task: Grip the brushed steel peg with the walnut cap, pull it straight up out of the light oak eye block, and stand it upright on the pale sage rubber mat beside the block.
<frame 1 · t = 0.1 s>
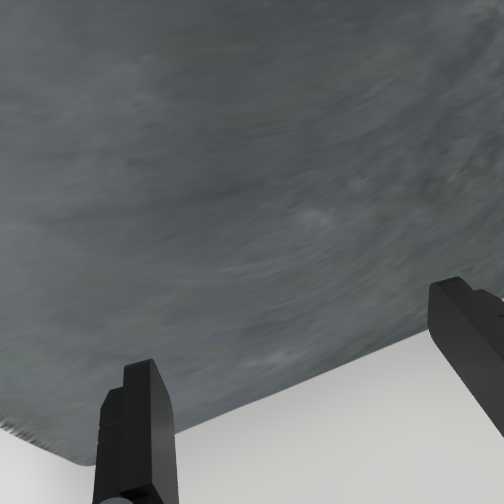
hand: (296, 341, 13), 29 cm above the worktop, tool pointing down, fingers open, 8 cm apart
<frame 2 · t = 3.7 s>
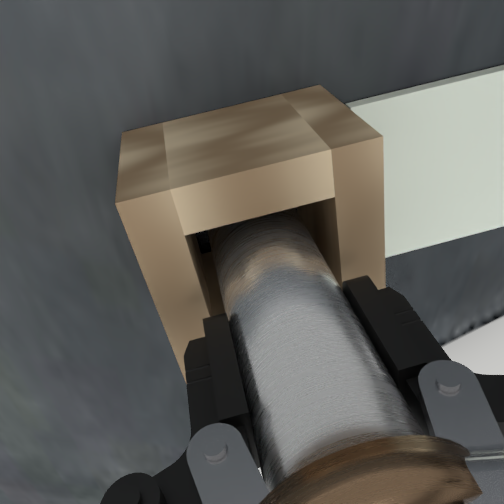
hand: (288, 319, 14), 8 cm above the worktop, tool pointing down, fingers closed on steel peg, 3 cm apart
oak eye block: (241, 196, 21), on the worktop
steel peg: (283, 304, 15), in the oak eye block, touching gripper
sage mat: (432, 167, 22), on the worktop
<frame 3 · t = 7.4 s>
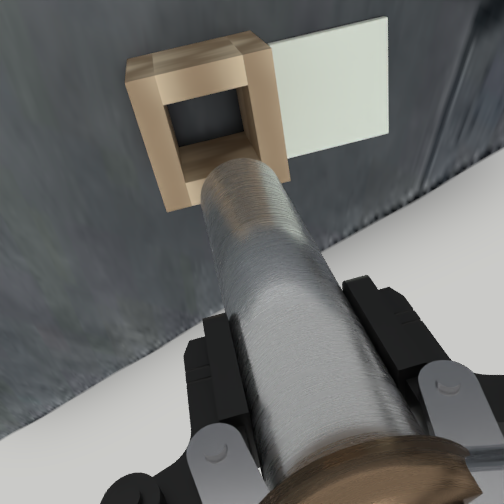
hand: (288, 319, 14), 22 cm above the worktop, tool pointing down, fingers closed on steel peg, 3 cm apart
oak eye block: (203, 106, 32), on the worktop
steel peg: (283, 304, 15), point 21 cm above the worktop, touching gripper
sage mat: (330, 90, 33), on the worktop
when the fingers open (10 cm above the worktop, at t = 11.0 s): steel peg drops 1 cm, resting on sage mat.
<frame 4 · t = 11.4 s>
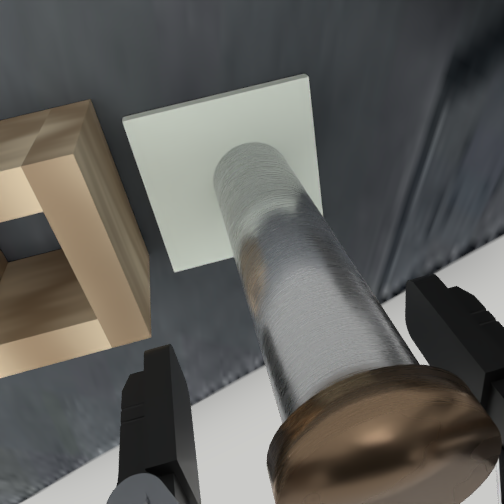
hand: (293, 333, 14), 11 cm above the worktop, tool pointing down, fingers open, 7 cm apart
oak eye block: (35, 207, 21), on the worktop
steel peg: (294, 272, 16), on the sage mat, point 8 cm above the worktop
sage mat: (233, 178, 22), on the worktop
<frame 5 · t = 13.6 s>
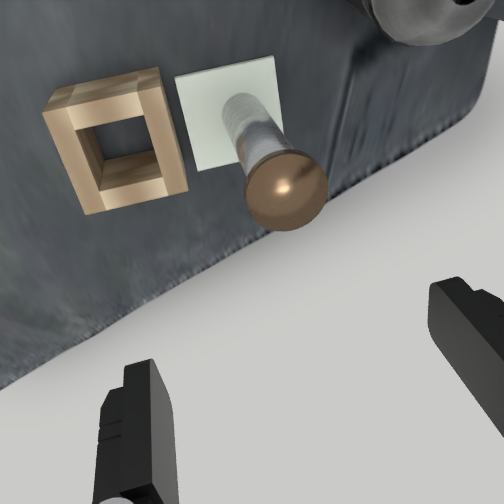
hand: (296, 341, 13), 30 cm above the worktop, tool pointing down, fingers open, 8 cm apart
oak eye block: (123, 127, 39), on the worktop
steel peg: (261, 147, 33), on the sage mat, point 8 cm above the worktop
sage mat: (232, 114, 40), on the worktop
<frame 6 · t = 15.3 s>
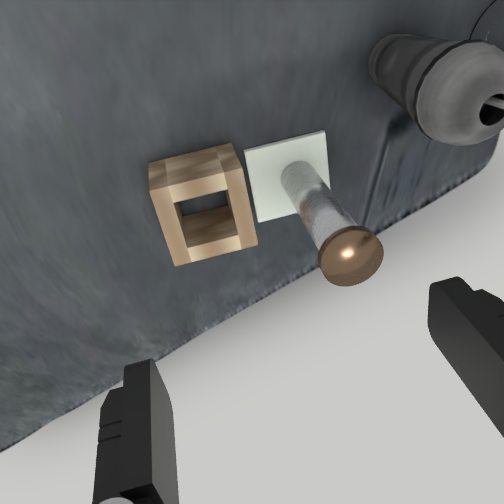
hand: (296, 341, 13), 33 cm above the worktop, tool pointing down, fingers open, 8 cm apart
beverage cup: (390, 59, 43), on the worktop
oak eye block: (200, 190, 47), on the worktop
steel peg: (321, 212, 41), on the sage mat, point 8 cm above the worktop
sage mat: (288, 176, 48), on the worktop
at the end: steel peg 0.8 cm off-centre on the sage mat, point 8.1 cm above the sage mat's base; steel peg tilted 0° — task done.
